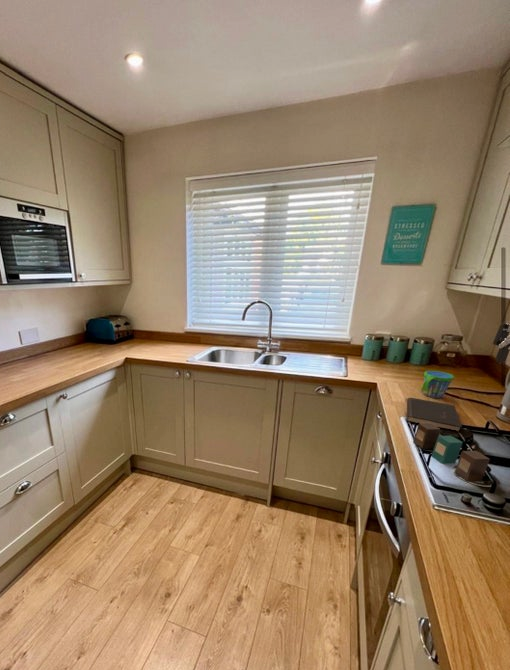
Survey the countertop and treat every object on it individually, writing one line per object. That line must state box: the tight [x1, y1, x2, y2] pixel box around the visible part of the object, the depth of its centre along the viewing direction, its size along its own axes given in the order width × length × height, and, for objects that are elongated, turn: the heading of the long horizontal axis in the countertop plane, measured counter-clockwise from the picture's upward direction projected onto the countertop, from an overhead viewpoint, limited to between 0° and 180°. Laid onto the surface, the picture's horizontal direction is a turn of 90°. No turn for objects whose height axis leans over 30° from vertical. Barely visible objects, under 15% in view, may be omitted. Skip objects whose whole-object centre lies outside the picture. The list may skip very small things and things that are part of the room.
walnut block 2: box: [454, 450, 491, 483], centre depth 85 cm, size 4×4×8 cm
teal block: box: [431, 435, 463, 465], centre depth 92 cm, size 4×4×8 cm
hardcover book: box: [406, 397, 463, 431], centre depth 125 cm, size 16×23×2 cm
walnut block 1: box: [412, 423, 442, 450], centre depth 100 cm, size 4×4×8 cm
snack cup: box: [421, 370, 455, 399], centre depth 145 cm, size 16×10×10 cm
